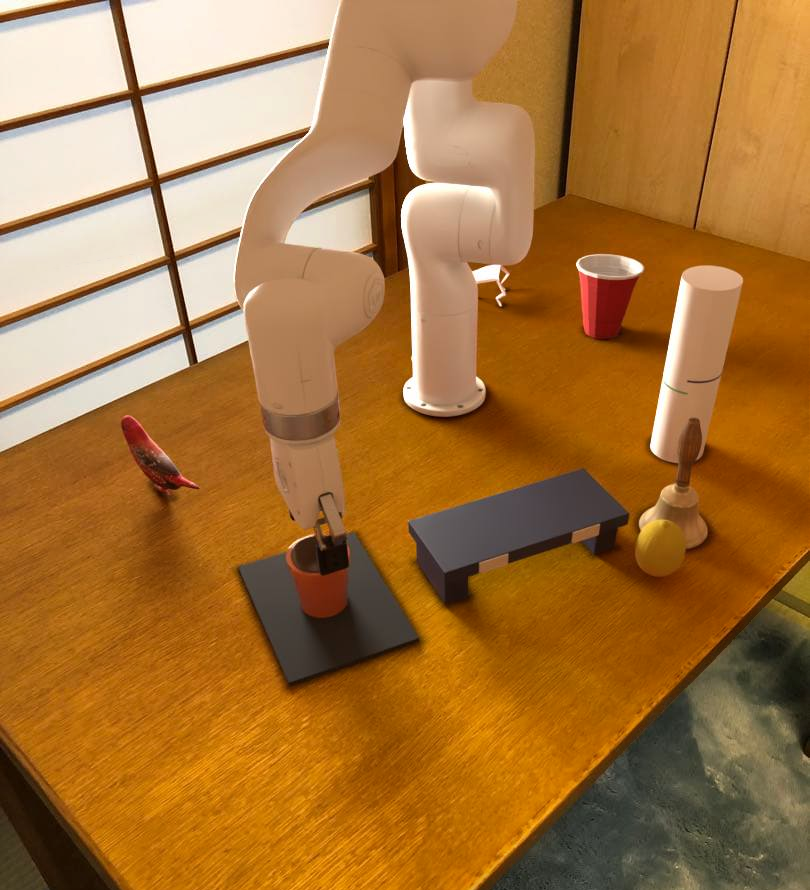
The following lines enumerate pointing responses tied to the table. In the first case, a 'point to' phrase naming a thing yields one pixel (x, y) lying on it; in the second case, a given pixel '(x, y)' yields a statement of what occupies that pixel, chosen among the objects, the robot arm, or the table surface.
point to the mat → (326, 639)
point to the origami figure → (491, 277)
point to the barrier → (514, 529)
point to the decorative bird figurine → (152, 458)
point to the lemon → (660, 548)
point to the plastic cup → (606, 291)
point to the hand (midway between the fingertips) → (319, 542)
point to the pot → (316, 580)
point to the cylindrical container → (695, 354)
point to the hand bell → (682, 491)
